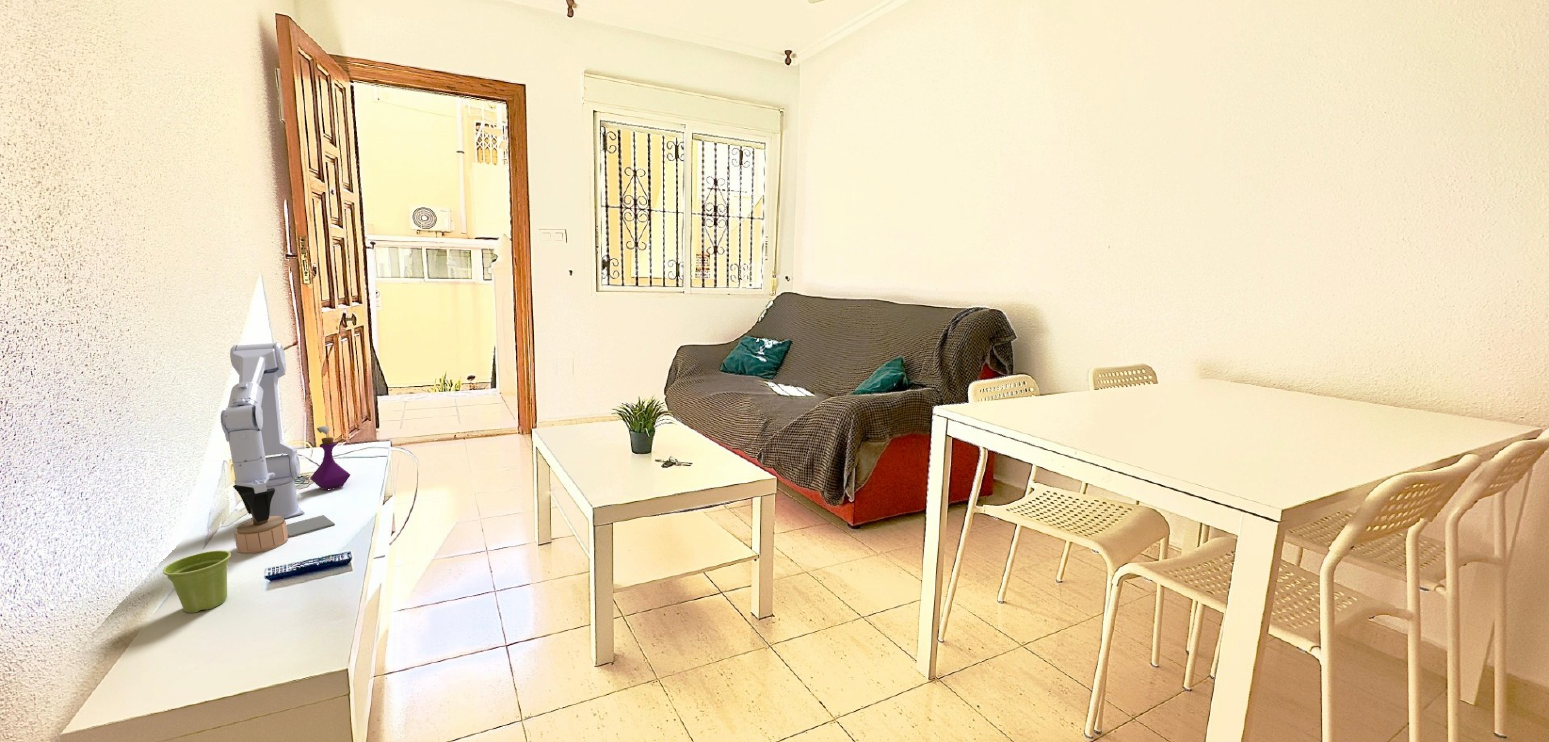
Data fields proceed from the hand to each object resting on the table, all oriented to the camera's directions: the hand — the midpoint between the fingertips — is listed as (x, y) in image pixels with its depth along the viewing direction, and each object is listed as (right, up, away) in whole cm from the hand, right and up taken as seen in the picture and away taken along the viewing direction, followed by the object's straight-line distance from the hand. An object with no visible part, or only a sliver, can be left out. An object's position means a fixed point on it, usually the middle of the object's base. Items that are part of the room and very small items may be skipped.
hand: (258, 516), depth 144 cm
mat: (+3, -5, +11) cm, 13 cm away
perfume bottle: (-11, -1, +40) cm, 41 cm away
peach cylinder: (0, -7, +1) cm, 7 cm away
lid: (0, -2, +1) cm, 2 cm away
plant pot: (+10, -11, -25) cm, 29 cm away
